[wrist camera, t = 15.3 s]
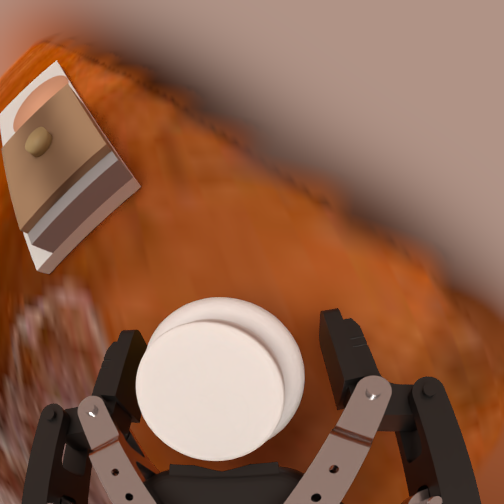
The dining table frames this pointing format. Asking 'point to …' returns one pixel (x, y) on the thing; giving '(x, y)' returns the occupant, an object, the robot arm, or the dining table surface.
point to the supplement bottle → (219, 378)
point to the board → (80, 194)
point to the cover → (51, 155)
